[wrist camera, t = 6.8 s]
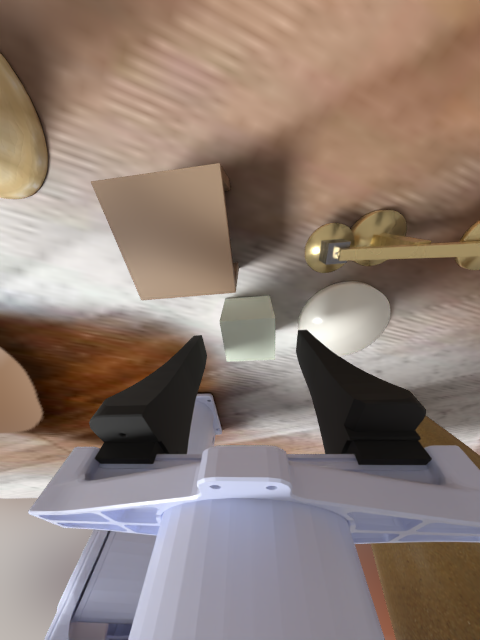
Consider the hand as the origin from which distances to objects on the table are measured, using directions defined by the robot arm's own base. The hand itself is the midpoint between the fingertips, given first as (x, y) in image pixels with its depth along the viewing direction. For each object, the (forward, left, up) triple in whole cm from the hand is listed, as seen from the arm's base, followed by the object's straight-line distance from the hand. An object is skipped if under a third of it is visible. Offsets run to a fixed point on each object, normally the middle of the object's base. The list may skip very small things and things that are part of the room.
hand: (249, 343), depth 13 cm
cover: (+7, +4, -4) cm, 9 cm away
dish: (-1, -8, -4) cm, 9 cm away
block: (0, 0, -4) cm, 4 cm away
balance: (+6, -9, -4) cm, 12 cm away
